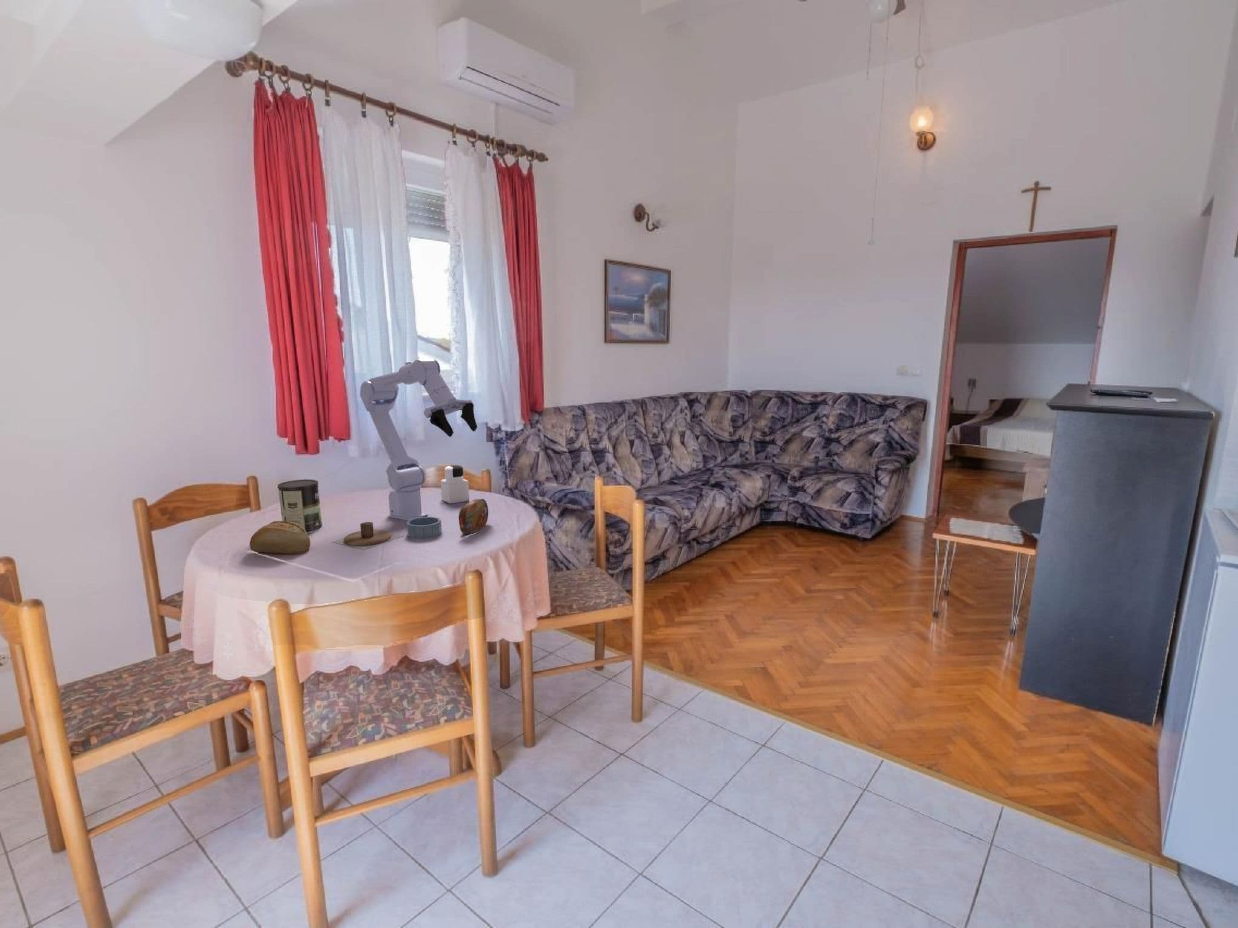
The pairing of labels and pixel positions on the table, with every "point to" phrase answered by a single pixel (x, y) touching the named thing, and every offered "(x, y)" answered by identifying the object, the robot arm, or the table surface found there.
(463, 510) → the tin
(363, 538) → the lid
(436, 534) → the bowl
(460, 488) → the medicine bottle
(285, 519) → the coffee can
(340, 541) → the mat
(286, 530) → the bread roll
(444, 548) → the table surface
